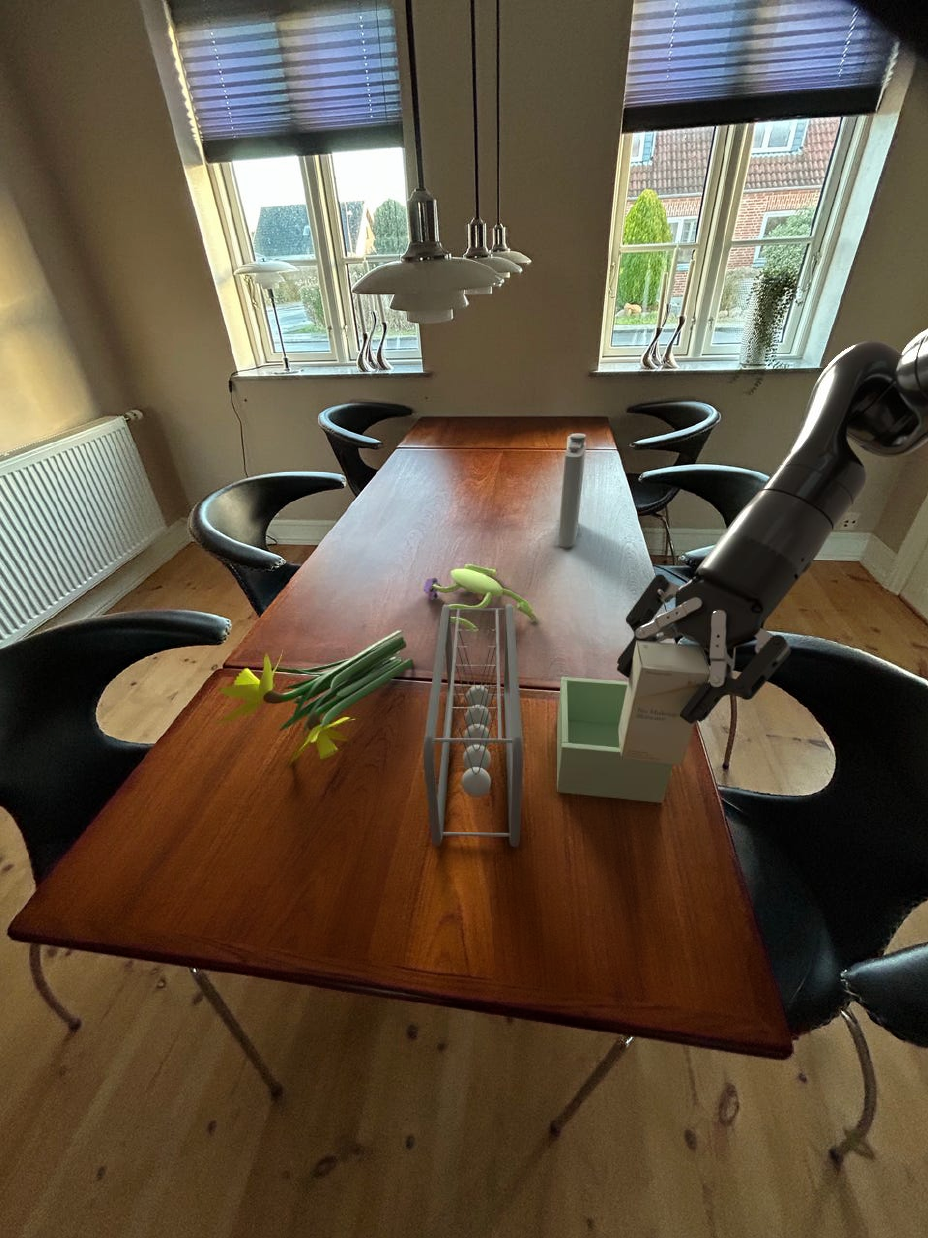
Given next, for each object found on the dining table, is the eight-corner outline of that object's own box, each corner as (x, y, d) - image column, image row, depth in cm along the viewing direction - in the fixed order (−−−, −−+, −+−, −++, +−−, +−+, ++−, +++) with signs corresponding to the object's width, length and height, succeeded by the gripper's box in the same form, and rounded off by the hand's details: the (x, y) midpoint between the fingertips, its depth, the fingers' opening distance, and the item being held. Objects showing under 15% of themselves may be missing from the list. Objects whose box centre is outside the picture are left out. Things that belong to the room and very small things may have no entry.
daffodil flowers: (450, 682, 91) (306, 792, 62) (389, 700, 99) (234, 806, 69) (412, 592, 90) (245, 660, 60) (353, 617, 98) (179, 689, 68)
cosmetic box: (620, 759, 54) (638, 668, 47) (617, 728, 58) (633, 639, 51) (684, 766, 53) (712, 674, 46) (677, 734, 57) (702, 643, 50)
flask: (575, 548, 130) (586, 445, 116) (557, 546, 131) (565, 444, 117) (578, 519, 144) (587, 425, 130) (561, 518, 145) (568, 424, 131)
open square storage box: (662, 803, 69) (675, 757, 64) (557, 792, 71) (562, 747, 66) (648, 727, 80) (658, 683, 75) (557, 720, 82) (561, 676, 77)
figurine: (453, 651, 97) (452, 626, 94) (414, 583, 118) (411, 561, 115) (543, 629, 102) (545, 605, 99) (490, 568, 123) (490, 546, 120)
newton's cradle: (448, 688, 89) (442, 598, 79) (510, 688, 88) (512, 598, 78) (432, 853, 64) (421, 753, 54) (519, 855, 64) (524, 754, 54)
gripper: (684, 508, 51) (582, 646, 53) (836, 567, 41) (704, 735, 43) (707, 543, 56) (613, 667, 58) (847, 603, 46) (729, 751, 48)
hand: (652, 695), depth 50 cm, fingers closed on cosmetic box, 7 cm apart
